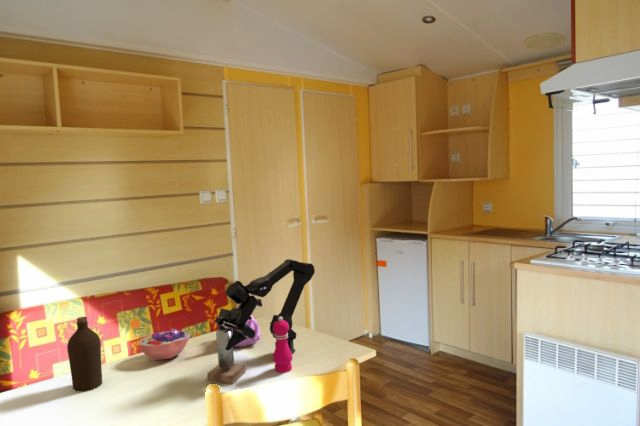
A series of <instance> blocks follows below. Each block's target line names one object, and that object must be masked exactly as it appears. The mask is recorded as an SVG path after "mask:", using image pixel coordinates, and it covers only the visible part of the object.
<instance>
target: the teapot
mask: <svg viewBox="0 0 640 426" xmlns="http://www.w3.org/2000/svg"><path fill="white" fill-rule="evenodd" d="M250 317H252V319H251V320H248V321H247V323H246V325H248V326H249V327H251V328H252V329H253V330H254V331H255V336H254V338H253V339H251V338H248V337H247V336H246V337H247V339H245V340H243V341H242V342H240V343H238V344H237V345H235V346H234V347H235V348H236V347H238V348H239V347H240V348H241V347H245V346H246V347H247V346H250V345H253V344H255V343H256V342H257V341H259V340H260V339H261V335H262V333H261V332H262V331H261V327H260V326H259V323H258V321H257V320H256V319H255V317H254V316H253V314H251V316H250ZM236 328H237V327H236ZM232 335H233V329H232ZM234 347H233V348H234Z"/></svg>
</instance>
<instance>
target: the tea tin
mask: <svg viewBox="0 0 640 426" xmlns="http://www.w3.org/2000/svg"><path fill="white" fill-rule="evenodd" d="M215 337H216V339H215V340H216V344H217V346H216V349H217V351H216V352H217V365H219V367H220V368H228V367H231V366H233V365H234V364H235V359H234V358H235V355H234V347H232V348H231V349H230V350H228V351H227V350H226V347H227V344H228V343H229V341H230V339H231V337H232V329H228V328H225V329H218V330H216V331H215Z"/></svg>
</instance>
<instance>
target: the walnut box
mask: <svg viewBox="0 0 640 426" xmlns="http://www.w3.org/2000/svg"><path fill="white" fill-rule="evenodd" d="M245 373H246V364H245V363H244V364H243V363H234V365H233V366H231V367H228V368H220V367H219V365H218V364H217V365H216V366H215V367H213V368H212V369H211V370H210V371H208V372H207V373H206V379H207V380H206V381H207V382H208V383H216V384H227V385H228V384H229V385H234V384H235V383H236V382H237V381H238V380H239V379H240V378H241V377H242V376H244V374H245Z"/></svg>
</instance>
